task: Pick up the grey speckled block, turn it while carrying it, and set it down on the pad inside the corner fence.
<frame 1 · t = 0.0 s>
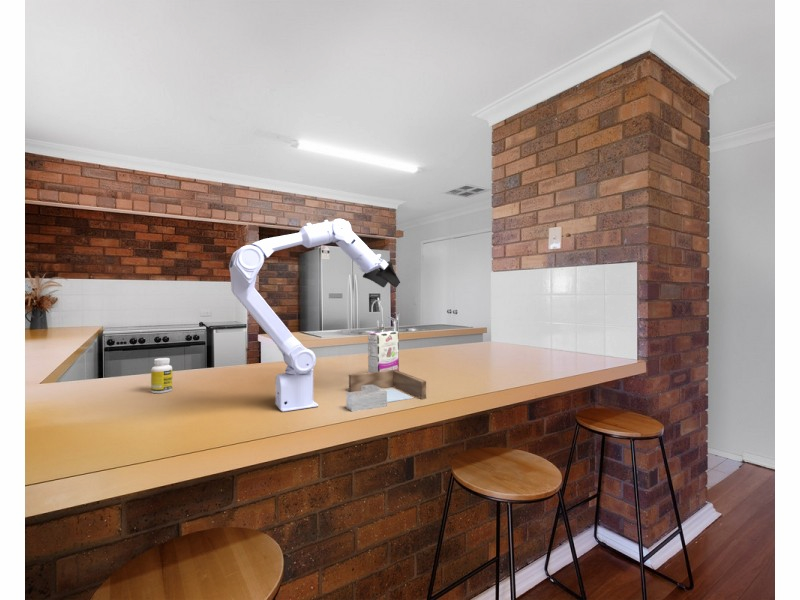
hand: (391, 284, 115), 32 cm above the table, tool tilted 50°, fingers open, 7 cm apart
supplement bottle: (162, 392, 116), on the table
grey speckled block: (366, 407, 101), on the table
corner fence: (383, 395, 113), on the table
candy bar box: (383, 380, 132), on the table
pad: (389, 395, 112), on the table
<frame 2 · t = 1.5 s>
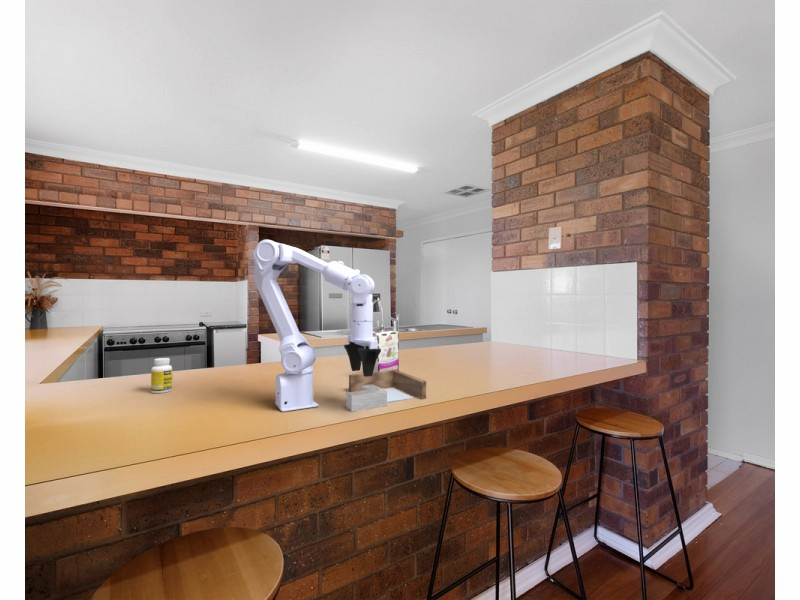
hand: (361, 373, 100), 9 cm above the table, tool pointing down, fingers open, 7 cm apart
nothing on the table moved.
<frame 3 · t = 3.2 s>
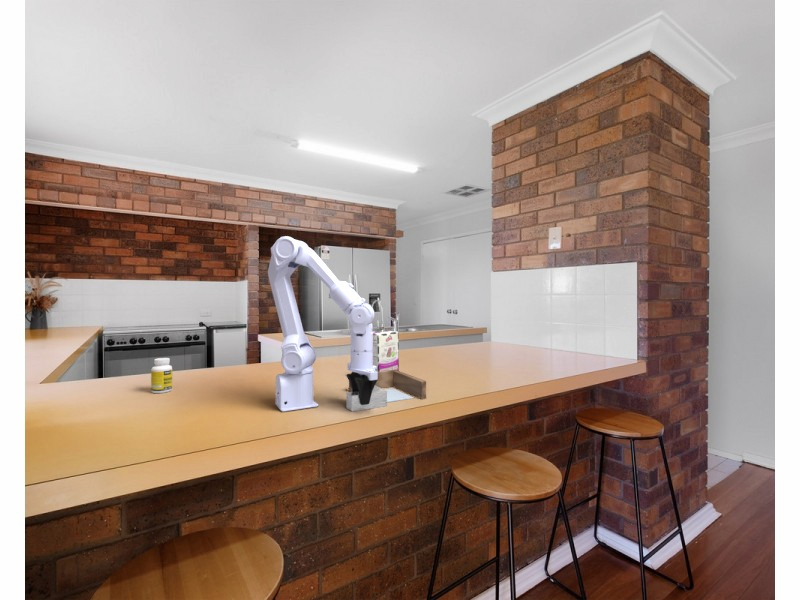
hand: (361, 402, 100), 1 cm above the table, tool pointing down, fingers closed on grey speckled block, 3 cm apart
grey speckled block: (366, 406, 101), on the table, touching gripper
everything else where it was.
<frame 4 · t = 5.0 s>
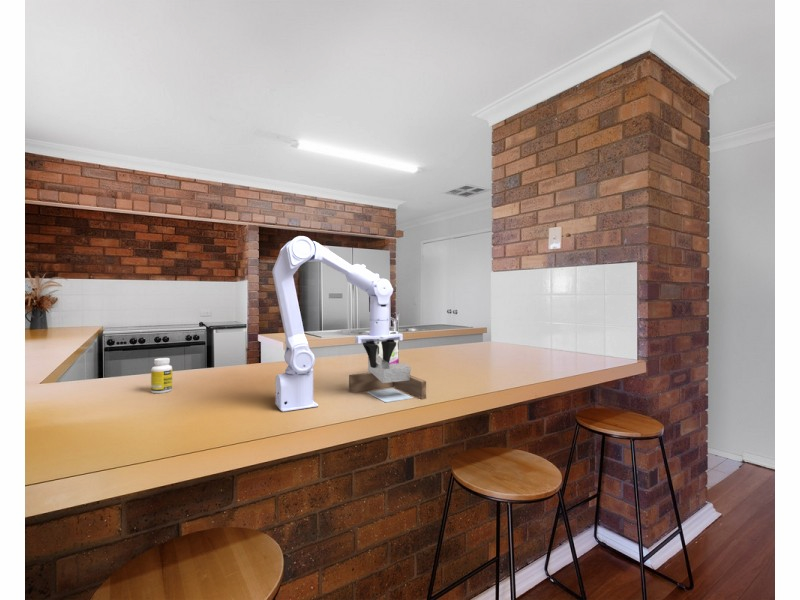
hand: (379, 366, 112), 8 cm above the table, tool pointing down, fingers closed on grey speckled block, 3 cm apart
grey speckled block: (380, 375, 112), point 6 cm above the table, tilted 11°, touching gripper
everything else where it was.
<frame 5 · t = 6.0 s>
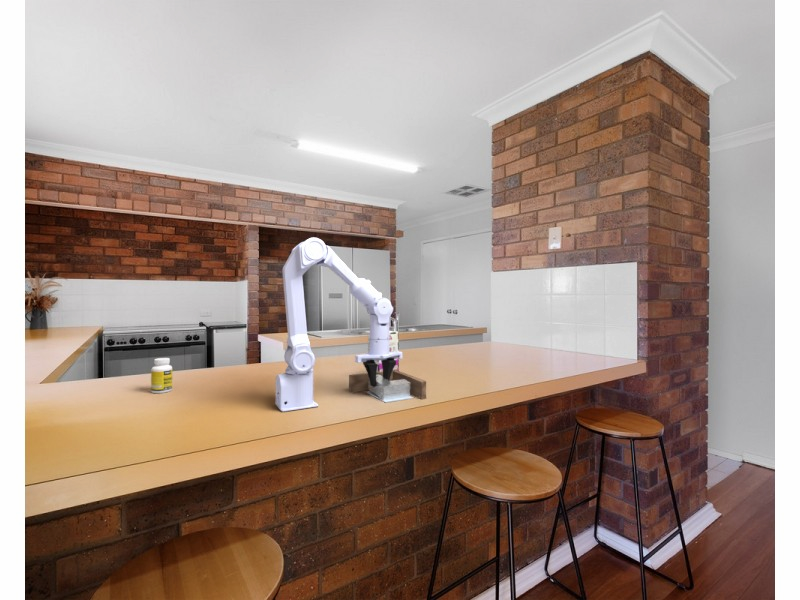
hand: (379, 385, 113), 3 cm above the table, tool pointing down, fingers closed on grey speckled block, 3 cm apart
grey speckled block: (380, 393, 112), point 1 cm above the table, tilted 6°, touching gripper
everything else where it was.
when the fingers open (3 cm above the table, at t = 6.9 s): grey speckled block stays where it is, resting on pad.
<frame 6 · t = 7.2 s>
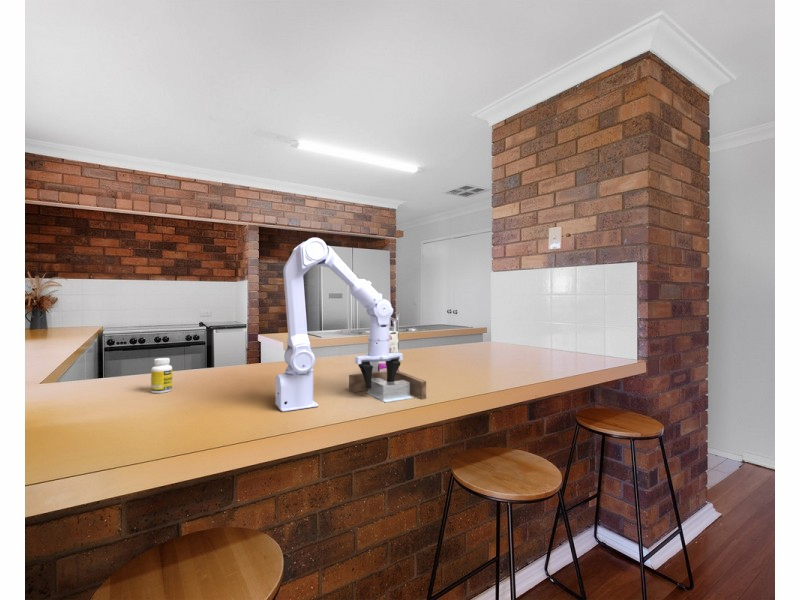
hand: (379, 386, 112), 3 cm above the table, tool pointing down, fingers open, 6 cm apart
grey speckled block: (380, 395, 112), resting on pad
everything else where it was.
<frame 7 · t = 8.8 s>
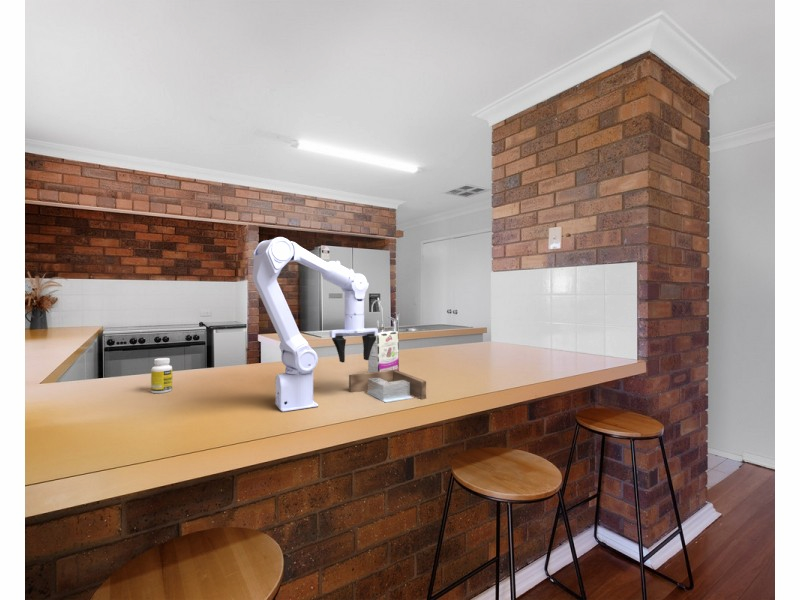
hand: (354, 360, 113), 10 cm above the table, tool pointing down, fingers open, 7 cm apart
nothing on the table moved.
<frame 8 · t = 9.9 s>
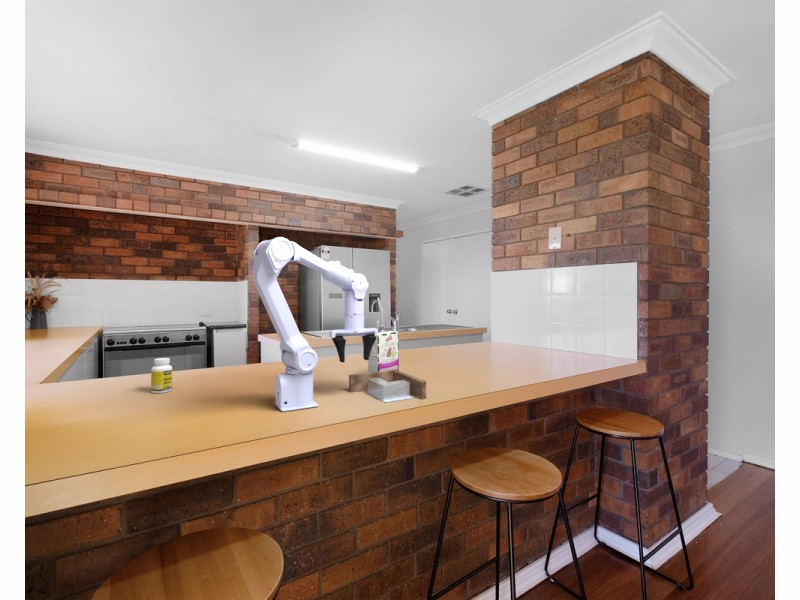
hand: (354, 360, 113), 10 cm above the table, tool pointing down, fingers open, 7 cm apart
nothing on the table moved.
at the end: grey speckled block inside the target area on the pad (1.0 cm from its centre), point 0.2 cm above the pad's base; grey speckled block touching pad; grey speckled block tilted 0° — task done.
